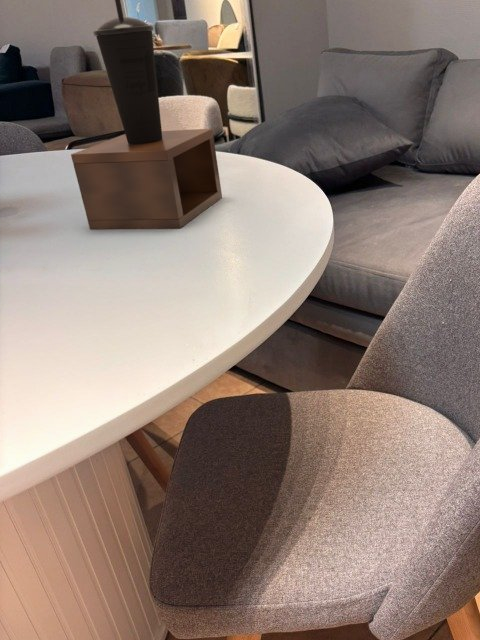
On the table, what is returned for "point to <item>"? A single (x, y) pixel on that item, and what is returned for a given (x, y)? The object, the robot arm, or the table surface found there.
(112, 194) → the walnut shelf
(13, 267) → the table surface
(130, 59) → the drinking cup
